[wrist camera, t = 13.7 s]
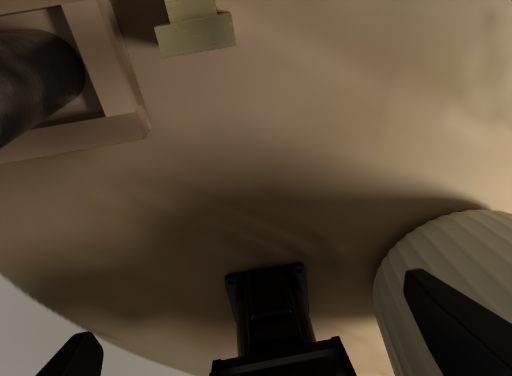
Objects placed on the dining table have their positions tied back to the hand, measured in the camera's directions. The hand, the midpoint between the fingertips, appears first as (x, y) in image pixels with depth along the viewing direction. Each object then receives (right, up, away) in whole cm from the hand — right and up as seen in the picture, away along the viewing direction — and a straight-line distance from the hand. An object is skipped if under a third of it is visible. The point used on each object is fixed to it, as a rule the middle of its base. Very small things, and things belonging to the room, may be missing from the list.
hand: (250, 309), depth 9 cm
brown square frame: (-11, +10, +7) cm, 16 cm away
